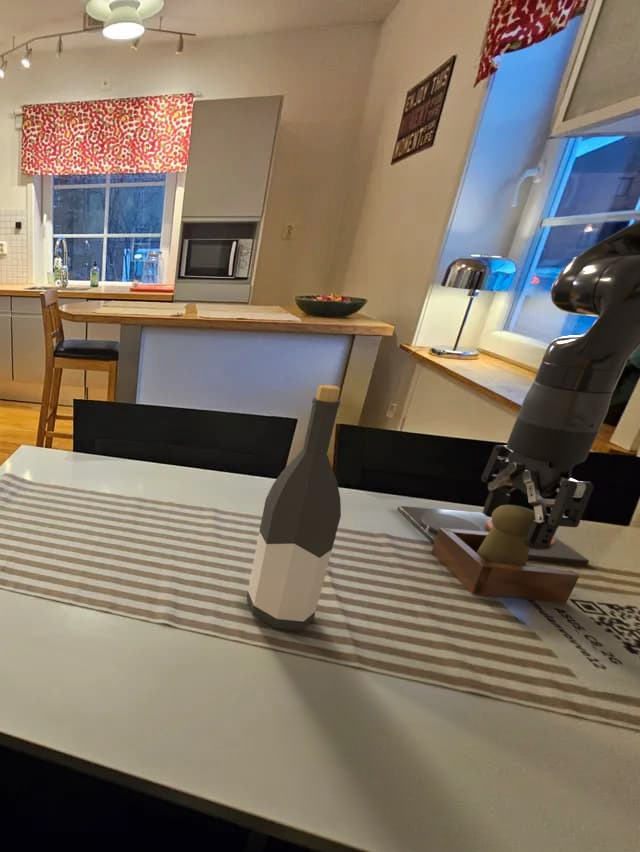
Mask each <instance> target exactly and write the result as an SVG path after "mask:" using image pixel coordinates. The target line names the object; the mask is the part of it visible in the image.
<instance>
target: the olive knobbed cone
mask: <svg viewBox="0 0 640 852" xmlns="http://www.w3.org/2000/svg"><path fill="white" fill-rule="evenodd" d="M533 520H536V519H535V512H534V509H530V508H528V507H524V506H521V505H515V504H507V505H501V506H499V507H498V508H496V509H495V510H494V511H493V513H492V524H493V527H492V528H491V530H490V531H489V533H488V535H487V536H486V538H485V540H484V541H483V543H482V544H481V546H480V548H479V549H478V551H477V552H476V553H477V554H478V555H479V556H480V557H481V558H483V559H484V560H485V561H486V562H488V563H499V564H509V565H519V566H527V564H528V560H529V559H528V554H529V549H530V547H528V546H527V545H526V544H525V543H524V541H525V539H526V537H527V534H528V532H529V530H530V527H531V525H532V523H533Z"/></svg>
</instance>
